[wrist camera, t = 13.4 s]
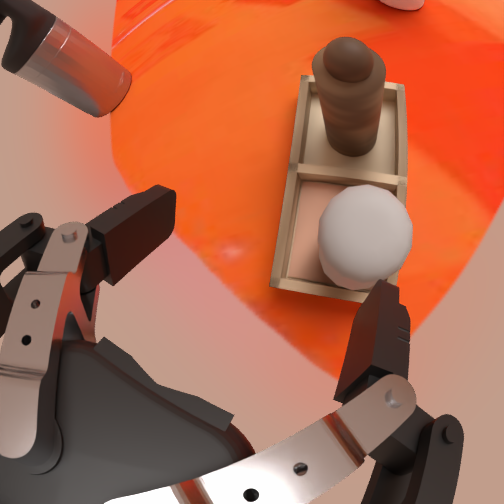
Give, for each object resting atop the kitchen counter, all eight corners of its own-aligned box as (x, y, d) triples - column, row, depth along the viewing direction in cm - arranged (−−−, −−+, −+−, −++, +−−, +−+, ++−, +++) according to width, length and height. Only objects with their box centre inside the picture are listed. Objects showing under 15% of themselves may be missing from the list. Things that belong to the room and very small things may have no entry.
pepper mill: (324, 154, 25) (303, 70, 13) (328, 110, 25) (308, 19, 13) (376, 160, 23) (390, 76, 12) (376, 115, 23) (384, 23, 12)
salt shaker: (325, 292, 24) (303, 311, 11) (316, 224, 24) (286, 174, 12) (392, 282, 22) (442, 291, 10) (383, 215, 23) (417, 154, 10)
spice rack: (278, 285, 26) (269, 286, 23) (306, 92, 27) (301, 75, 24) (386, 303, 23) (392, 307, 20) (400, 102, 24) (404, 84, 21)
